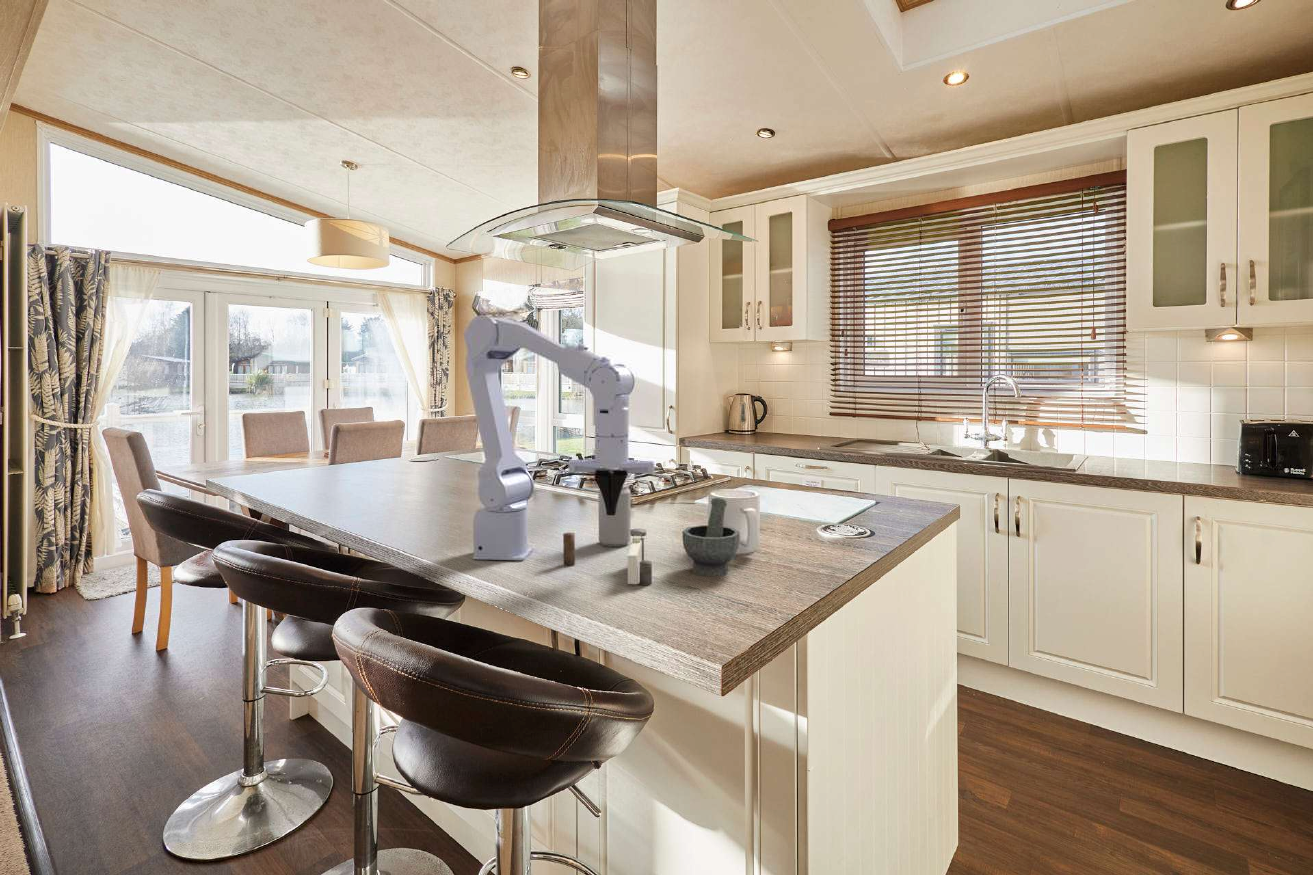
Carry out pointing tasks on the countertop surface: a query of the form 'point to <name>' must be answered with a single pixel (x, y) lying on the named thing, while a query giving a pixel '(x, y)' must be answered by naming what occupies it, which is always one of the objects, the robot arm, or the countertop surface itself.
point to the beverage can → (615, 521)
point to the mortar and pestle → (711, 542)
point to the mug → (740, 515)
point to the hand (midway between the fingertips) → (611, 514)
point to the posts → (569, 558)
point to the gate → (635, 555)
